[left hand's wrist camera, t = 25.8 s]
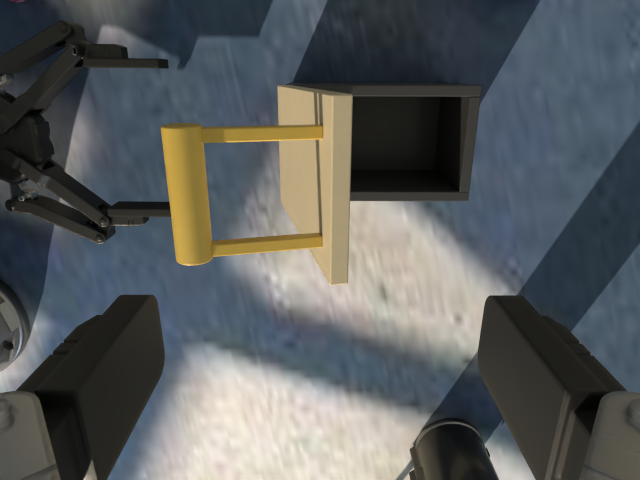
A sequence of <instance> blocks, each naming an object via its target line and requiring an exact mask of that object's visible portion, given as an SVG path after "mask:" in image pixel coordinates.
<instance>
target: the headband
mask: <svg viewBox="0 0 640 480" xmlns="http://www.w3.org/2000/svg"><path fill="white" fill-rule="evenodd" d="M9 1H13V2H18V3H21V2H24V1H25V0H9Z"/></svg>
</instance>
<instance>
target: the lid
mask: <svg viewBox="0 0 640 480" xmlns="http://www.w3.org/2000/svg"><path fill="white" fill-rule="evenodd" d="M352 104H353V96H352V94H347V93H340V92H333V91H326V90H320V89H313V88H306V87H299V86H293V85H278V116H279V125H270V126H227V127H202V125H200V124H196V123H175V124H166V125H162V126H161V133H162V142H163V150H164V159H165V167H166V176H167V184H168V193H169V201H170V210H171V218H172V227H173V236H174V244H175V253H176V260H177V262H178V263H180V264H183V265H200V264H204V263H207V262H209V261H210V260H212V258H213V257H215V256H227V255H238V254H250V253H262V252H273V251H285V250H297V249H309V250H310V252H311V254H312V255H313V257H314V259H315V260H316V262H317V264H318V265H319V267H320V269H321V271H322V272H323V274H324V276H325V277H326V279H327V281H328V282H329V284H330V285H340V284H347V283H348V256H349V218H350V180H351V142H352ZM251 141H279V151H280V186H281V203H282V205H283V207H284V208H285V210H286V212H287V213H288V215H289V217H290V219H291V220H292V222H293V224H294V225H295V227H296V229H297V230H298V232H299V234H294V235H282V236H269V237H256V238H243V239H230V240H218V241H212V234H211V223H210V211H209V199H208V188H207V176H206V165H205V153H204V143H219V142H251Z"/></svg>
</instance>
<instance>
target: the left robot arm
mask: <svg viewBox="0 0 640 480" xmlns="http://www.w3.org/2000/svg"><path fill="white" fill-rule="evenodd" d="M164 358H165V353H164V344H163V337H162V330H161V323H160V316H159V309H158V303H157V300H156V298H155V296H154V295H120V296H119V297H118V298H117V299H116V300H115V301H114V302H113V303H112V305H111V306H110V307H109V308H108V309H107V310H106V311H105V312H104V313H103V315H96V316H95V317H93V318H91V319H89V320H88V321H86V322H84V323H83V324H81V325H79V326H77V327H76V328H75V329H74V330H73V331H72V333H71V334H70V335H69V336H68V337H67V338H66V339H65V340H64V343H61V344H60V345H59V346H58V347H57V348H56V349H55V350H54V351H53V355H50V356H49V357H48V358H47V359H46V360H45V361H44V362H43V363H42V364H41V365H40V366H39V367H38V368H37V369H36V370H35V371H34V372H33V373H32V374H31V375H30V376H29V378H28V379H27V380H26V381H25V382H24V383H23V384H22V385H21V386H20V387H19V388H18V389H17V390H16V391H11V392H4V393H0V480H107V478H108V476H109V474H110V472H111V470H112V469H113V467H114V465H115V463H116V461H117V459H118V457H119V455H120V453H121V451H122V449H123V448H124V446H125V444H126V442H127V440H128V438H129V436H130V434H131V432H132V430H133V428H134V427H135V425H136V423H137V421H138V419H139V417H140V415H141V413H142V411H143V409H144V407H145V406H146V404H147V402H148V400H149V398H150V396H151V394H152V392H153V390H154V388H155V387H156V385H157V383H158V381H159V379H160V377H161V374H162V371H163V367H164ZM478 365H479V371H480V374H481V377H482V379H483V381H484V383H485V385H486V386H487V388H488V390H489V392H490V394H491V396H492V398H493V400H494V402H495V403H496V405H497V407H498V409H499V411H500V413H501V415H502V417H503V419H504V420H505V422H506V424H507V426H508V428H509V430H510V432H511V434H512V435H513V437H514V439H515V441H516V443H517V445H518V447H519V449H520V451H521V452H522V454H523V456H524V458H525V460H526V462H527V464H528V466H529V468H530V469H531V471H532V473H533V475H534V477H535V479H536V480H640V393H636V392H629V391H627V390H626V389H625V388H624V387H623V386H622V385H621V384H620V383H619V382H618V381H617V380H616V379H615V378H614V377H613V376H612V375H611V374H610V373H609V372H608V371H607V370H606V369H605V368H604V366H603V365H602V364H601V363H600V362H599V361H598V360H597V359H596V358H595V357H594V356H591V355H590V352H589V351H588V350H587V349H586V348H585V347H584V346H583V345H582V344H579V341H578V340H577V338H576V337H575V336H574V335H573V334H572V333H571V332H570V331H569V330H568V329H567V328H566V327H564V326H562V325H561V324H559V323H557V322H556V321H554V320H552V319H550V318H549V317H547V316H541V315H540V314H539V313H538V312H537V311H536V310H535V309H534V308H533V307H532V305H531V304H530V303H529V302H528V301H527V300H526V299H525V298H524V297H523V296H489V297H488V298H487V299H486V302H485V306H484V313H483V320H482V327H481V334H480V341H479V348H478ZM410 453H411V458H412V462H413V466H414V470H413V471H411V472H410V473H409V475H410V479H411V480H499V478H498V476H497V474H496V471H495V469H494V467H493V465H492V462H491V460H490V454H489V452H488V450H487V448H485V446H484V443H483V440H482V438H481V436H480V434H479V432H478V430H477V429H476V428H475V427H474V426H472V425H471V424H469V423H467V422H464V421H461V420H454V419H450V420H442V421H438V422H436V423H433V424H431V425H430V426H428V427H427V428H425V429H424V430H423V431H422V432H421V433H420V435H419V436H418V438H417V440H416V443H415V446H414V447H412V448H411V449H410Z"/></svg>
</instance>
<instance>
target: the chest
mask: <svg viewBox="0 0 640 480" xmlns="http://www.w3.org/2000/svg"><path fill="white" fill-rule="evenodd" d="M286 85H293V86H299V87H306V88H313V89H320V90H326V91H333V92H340V93H347V94H352V96H353V104H352V142H351V180H350V201H468V197H469V192H468V191H469V188H470V180H471V172H472V163H473V155H474V147H475V138H476V130H477V122H478V113H479V105H480V96H481V89H482V86H481V85H471V84H458V83H396V82H292V83H289V84H286Z"/></svg>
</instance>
